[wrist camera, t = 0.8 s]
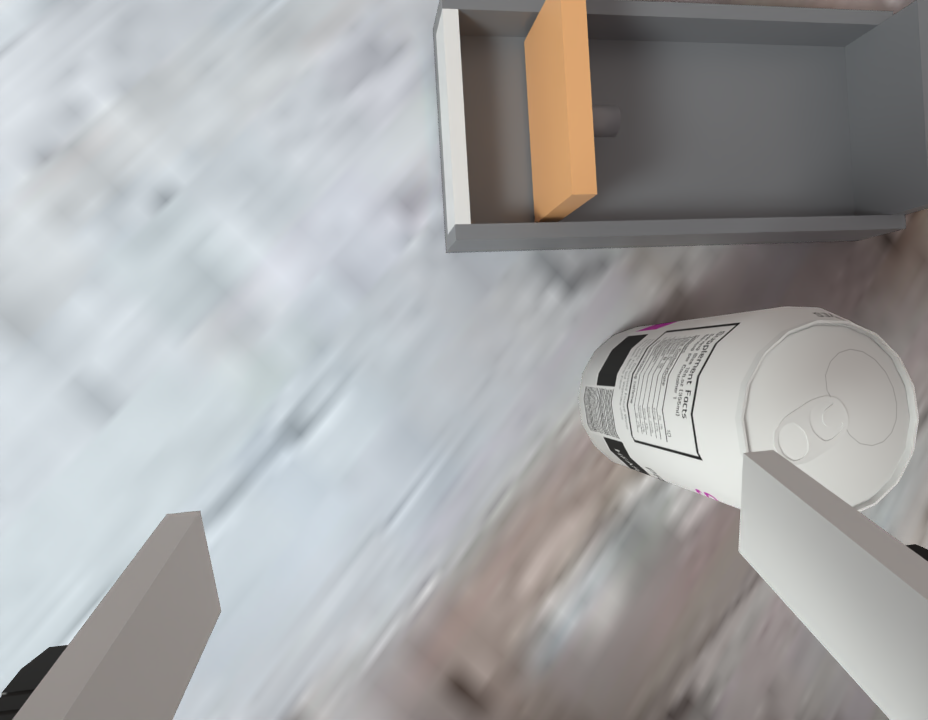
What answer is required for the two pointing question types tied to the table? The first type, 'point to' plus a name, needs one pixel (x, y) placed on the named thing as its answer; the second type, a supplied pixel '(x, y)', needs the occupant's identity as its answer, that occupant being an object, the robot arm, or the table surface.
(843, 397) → the supplement can
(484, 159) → the pusher lane
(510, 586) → the table surface
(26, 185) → the table surface
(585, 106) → the pusher
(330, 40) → the table surface
